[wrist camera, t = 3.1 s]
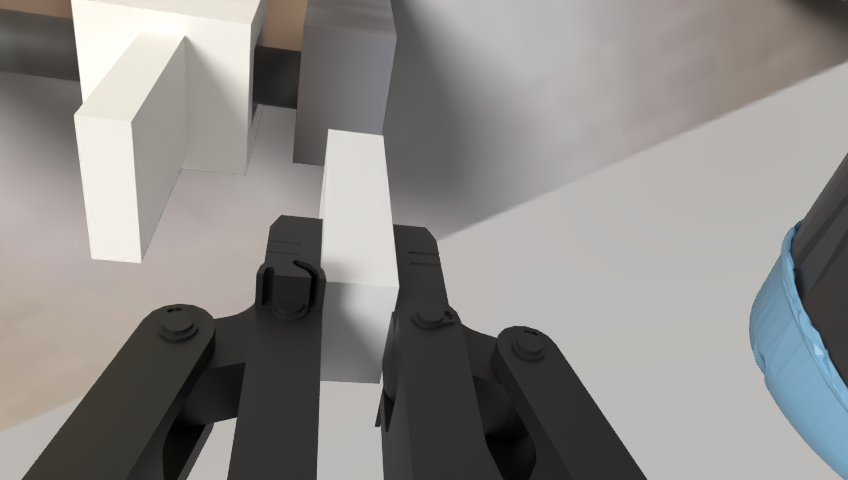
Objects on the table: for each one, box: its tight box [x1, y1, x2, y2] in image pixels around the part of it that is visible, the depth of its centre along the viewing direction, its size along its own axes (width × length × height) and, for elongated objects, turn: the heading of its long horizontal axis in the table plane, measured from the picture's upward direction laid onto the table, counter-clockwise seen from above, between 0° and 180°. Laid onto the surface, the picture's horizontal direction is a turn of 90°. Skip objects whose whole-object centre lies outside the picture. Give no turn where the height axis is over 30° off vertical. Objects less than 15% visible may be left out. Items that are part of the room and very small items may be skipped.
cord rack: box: [0, 0, 397, 166], centre depth 24 cm, size 24×9×14 cm, turn 80°
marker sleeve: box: [71, 0, 267, 263], centre depth 20 cm, size 5×5×11 cm
